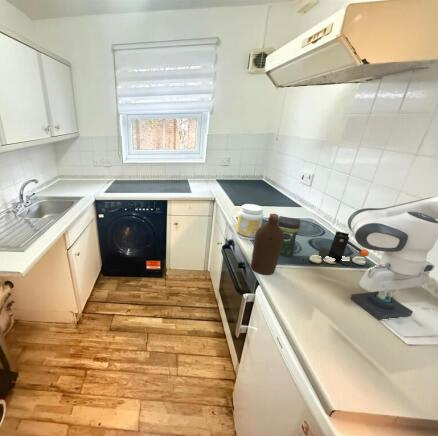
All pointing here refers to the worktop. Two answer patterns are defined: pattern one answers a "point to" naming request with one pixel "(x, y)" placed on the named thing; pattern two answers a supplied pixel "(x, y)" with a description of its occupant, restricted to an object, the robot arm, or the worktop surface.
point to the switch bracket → (337, 249)
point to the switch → (358, 249)
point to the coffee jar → (288, 234)
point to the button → (383, 299)
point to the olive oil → (267, 247)
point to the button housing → (380, 306)
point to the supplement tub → (249, 221)
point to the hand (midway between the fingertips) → (383, 297)
